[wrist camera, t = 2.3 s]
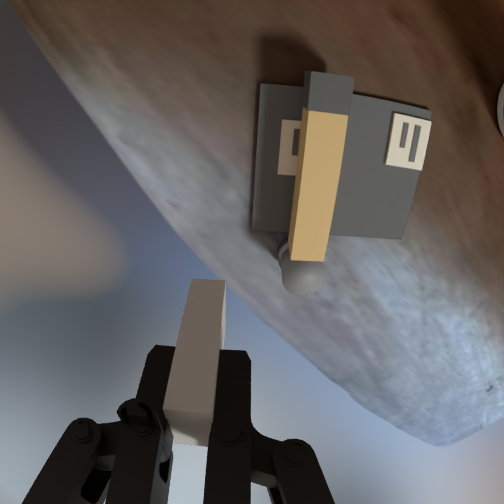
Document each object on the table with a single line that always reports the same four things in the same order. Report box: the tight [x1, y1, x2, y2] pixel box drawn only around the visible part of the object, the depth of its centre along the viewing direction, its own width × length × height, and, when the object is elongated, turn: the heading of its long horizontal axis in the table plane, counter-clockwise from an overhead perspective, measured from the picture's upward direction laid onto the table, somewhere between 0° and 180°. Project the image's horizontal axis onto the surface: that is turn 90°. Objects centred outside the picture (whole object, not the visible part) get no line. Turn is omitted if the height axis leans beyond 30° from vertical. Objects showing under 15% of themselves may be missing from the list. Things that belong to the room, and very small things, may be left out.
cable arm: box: [280, 71, 354, 295], centre depth 27 cm, size 20×4×3 cm, turn 177°
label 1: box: [278, 119, 302, 176], centre depth 27 cm, size 5×4×1 cm
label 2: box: [385, 113, 431, 170], centre depth 26 cm, size 5×4×1 cm
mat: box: [252, 84, 432, 240], centre depth 28 cm, size 14×16×1 cm
